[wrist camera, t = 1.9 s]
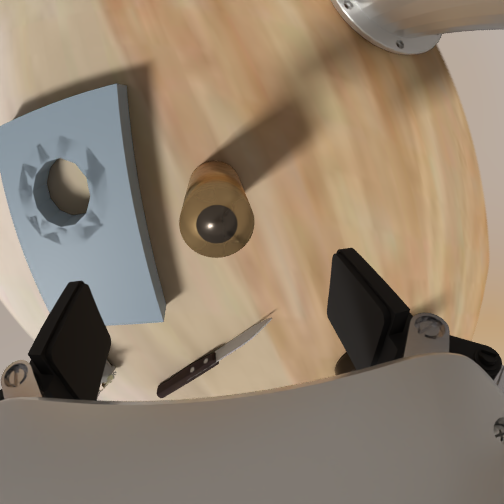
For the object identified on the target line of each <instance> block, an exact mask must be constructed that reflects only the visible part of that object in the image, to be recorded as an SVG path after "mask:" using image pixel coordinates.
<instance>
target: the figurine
mask: <svg viewBox="0 0 504 504" xmlns="http://www.w3.org/2000/svg"><path fill="white" fill-rule="evenodd" d="M114 370H115V366H113V365H110V363H109V362H108V360H106V364H105V368H104V372H103V376H102V380H101V383H102V386H103V387H104V388H105V387H106V386H107V385H108V383H109V382H110V383H111V382H112V379H114V375H116V374H114V373H116V372H113V371H114ZM112 373H113V374H112ZM104 383H105V384H104ZM104 388H103V389H104ZM103 389H102V390H103ZM102 390H99V393H98V396H99V394H100V392H101V391H102ZM98 396H97V397H98Z"/></svg>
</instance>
